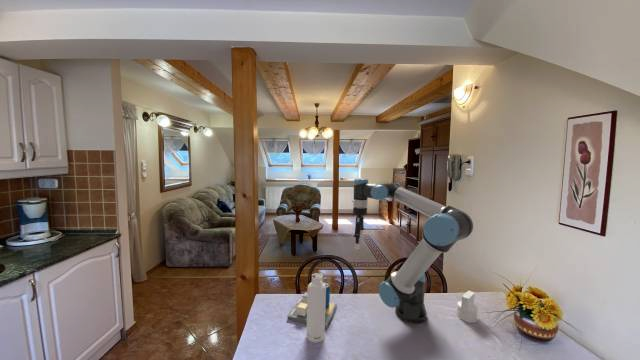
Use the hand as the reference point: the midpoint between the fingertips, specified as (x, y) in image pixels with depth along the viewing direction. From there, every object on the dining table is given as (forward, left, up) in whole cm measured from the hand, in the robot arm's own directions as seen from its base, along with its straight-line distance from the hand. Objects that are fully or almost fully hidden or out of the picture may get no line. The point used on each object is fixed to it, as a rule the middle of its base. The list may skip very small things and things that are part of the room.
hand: (358, 245), depth 143 cm
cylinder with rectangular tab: (-56, -4, -31) cm, 64 cm away
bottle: (+12, +36, -31) cm, 49 cm away
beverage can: (+14, +18, -29) cm, 37 cm away
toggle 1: (+22, +26, -29) cm, 45 cm away
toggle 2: (+23, +16, -29) cm, 40 cm away
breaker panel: (+18, +21, -31) cm, 42 cm away
